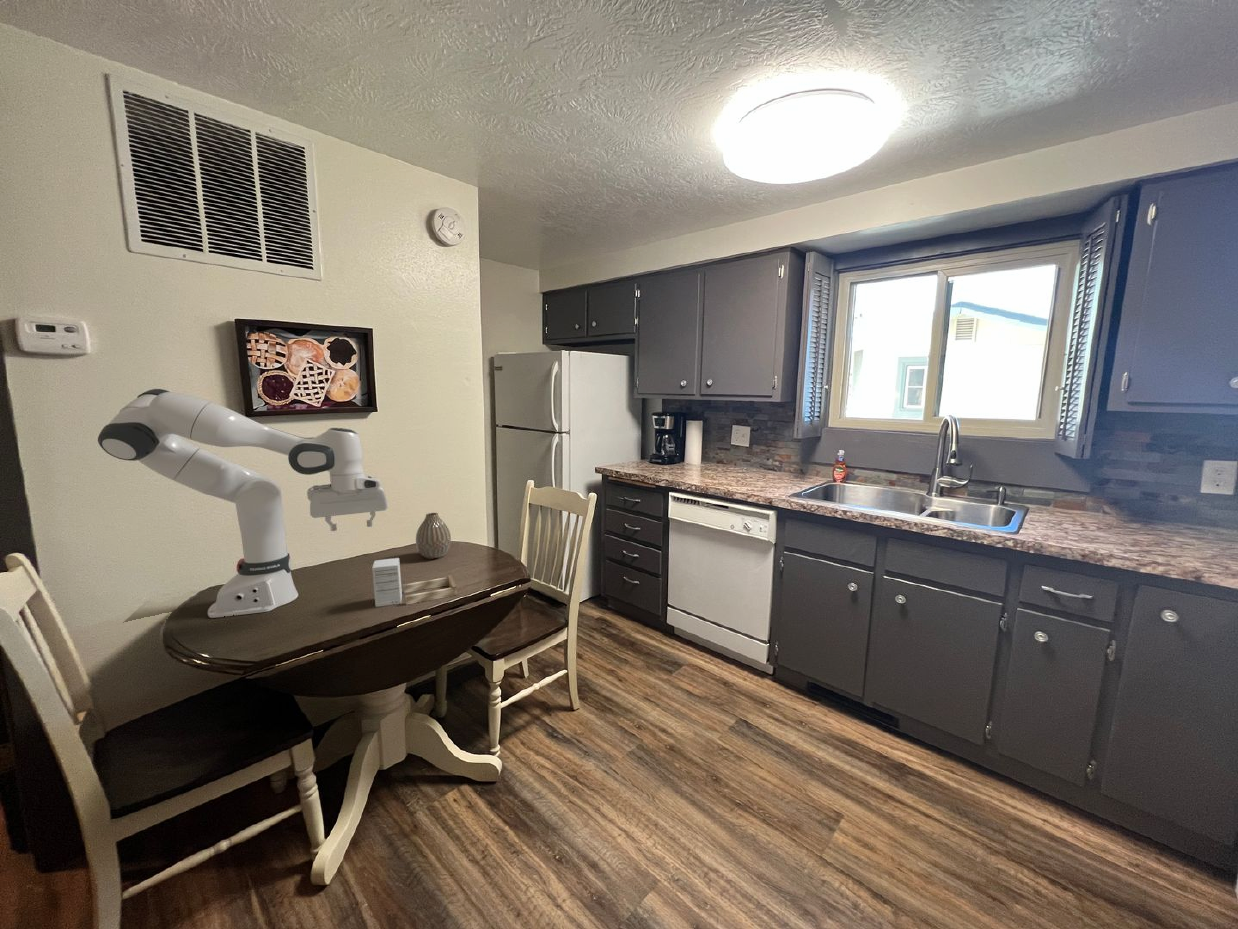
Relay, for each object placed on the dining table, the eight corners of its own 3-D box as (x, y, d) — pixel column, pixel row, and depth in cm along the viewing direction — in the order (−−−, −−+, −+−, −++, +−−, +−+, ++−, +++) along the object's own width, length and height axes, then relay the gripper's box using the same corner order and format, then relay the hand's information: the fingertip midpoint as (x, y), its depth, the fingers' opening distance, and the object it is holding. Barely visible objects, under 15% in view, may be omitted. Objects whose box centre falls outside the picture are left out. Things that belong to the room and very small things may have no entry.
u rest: (406, 604, 150) (405, 595, 150) (403, 591, 160) (402, 583, 160) (457, 595, 157) (456, 586, 156) (451, 583, 167) (451, 575, 166)
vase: (456, 551, 202) (453, 509, 200) (445, 561, 189) (442, 517, 187) (424, 551, 202) (421, 510, 199) (411, 562, 189) (408, 518, 186)
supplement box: (377, 598, 155) (374, 560, 153) (402, 594, 158) (399, 557, 156) (374, 607, 148) (371, 567, 147) (401, 603, 151) (398, 564, 149)
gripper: (305, 487, 137) (310, 535, 139) (385, 481, 146) (389, 526, 148) (307, 484, 142) (312, 530, 144) (385, 478, 151) (388, 521, 153)
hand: (352, 528), depth 146 cm, fingers open, 8 cm apart
